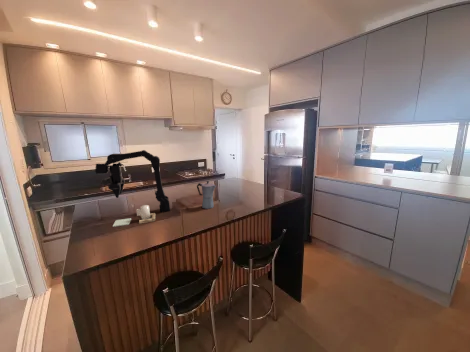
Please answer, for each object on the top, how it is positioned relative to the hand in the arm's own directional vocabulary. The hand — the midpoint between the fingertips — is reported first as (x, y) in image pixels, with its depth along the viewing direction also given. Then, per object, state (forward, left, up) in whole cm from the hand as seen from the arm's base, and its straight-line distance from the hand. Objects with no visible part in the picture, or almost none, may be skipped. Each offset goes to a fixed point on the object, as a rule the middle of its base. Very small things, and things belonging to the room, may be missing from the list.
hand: (118, 195), depth 135 cm
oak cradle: (-16, +12, -15) cm, 25 cm away
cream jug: (-15, +12, -15) cm, 24 cm away
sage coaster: (-2, +12, -15) cm, 19 cm away
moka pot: (-58, +5, -15) cm, 60 cm away
